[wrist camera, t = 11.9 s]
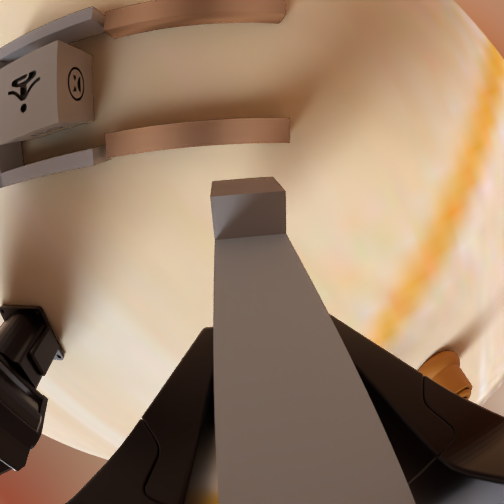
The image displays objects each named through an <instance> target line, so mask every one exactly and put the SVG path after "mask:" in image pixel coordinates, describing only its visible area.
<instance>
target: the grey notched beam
mask: <svg viewBox="0 0 504 504" xmlns="http://www.w3.org/2000/svg"><path fill="white" fill-rule="evenodd" d="M210 199H211V208H212V218H213V227H214V236H215V255H214V315H213V353H214V411H215V440H216V462H217V481H218V497H219V504H416V503H415V501H414V498H413V496H412V493H411V491H410V488H409V486H408V483H407V481H406V478H405V476H404V474H403V471H402V469H401V466H400V464H399V462H398V459H397V457H396V455H395V452H394V450H393V448H392V446H391V443H390V441H389V439H388V436H387V434H386V432H385V430H384V427H383V425H382V423H381V421H380V419H379V416H378V414H377V412H376V410H375V408H374V405H373V403H372V401H371V399H370V397H369V395H368V393H367V390H366V388H365V386H364V384H363V382H362V380H361V378H360V376H359V374H358V372H357V370H356V367H355V365H354V363H353V361H352V359H351V357H350V355H349V353H348V351H347V349H346V347H345V345H344V343H343V341H342V339H341V337H340V335H339V333H338V331H337V329H336V327H335V325H334V323H333V321H332V319H331V317H330V315H329V313H328V311H327V309H326V307H325V306H324V304H323V302H322V300H321V298H320V296H319V294H318V292H317V290H316V288H315V286H314V284H313V283H312V281H311V279H310V277H309V275H308V273H307V271H306V269H305V268H304V266H303V264H302V262H301V260H300V258H299V256H298V255H297V253H296V251H295V249H294V247H293V245H292V244H291V242H290V240H289V238H288V236H287V234H286V192H285V190H284V189H283V188H282V186H281V185H280V184H279V183H278V182H277V181H276V180H275V179H274V178H273V177H260V178H246V179H233V180H222V181H212V188H211V195H210Z"/></svg>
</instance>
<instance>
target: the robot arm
mask: <svg viewBox="0 0 504 504" xmlns="http://www.w3.org/2000/svg"><path fill="white" fill-rule="evenodd" d="M0 313H1V315H2V317H3V319H4V322H3V324H2V325H1V326H0V475H1V474H3V473H5V472H7V471H9V470H11V469H13V470H15V471H19V470H20V469H21V468H23V467H24V466H25V464H26V461H27V457H28V454H29V451H30V450H31V449H32V448H33V447H34V446H35V445H36V443H37V442H38V440H39V438H40V436H41V433H42V429H43V423H44V417H45V411H46V406H47V401H48V398H47V397H45V396H44V395H42V394H41V393H40V392H38V391H37V390H36V388H37V386H38V384H39V382H40V380H41V378H42V376H45V374H46V372H47V370H48V368H49V366H50V364H51V363H52V361H53V359H55V360H63V358H64V354H63V352H62V350H61V348H60V346H59V344H58V342H57V340H56V338H55V336H54V334H53V332H52V329H51V327H50V325H49V323H48V321H47V318H46V316H45V314H44V311H43V310H42V308H41V307H38V306H10V305H2V306H1V307H0ZM329 315H330V314H329ZM330 317H331V319H332V321H333V323H334V325H335V327H336V329H337V331H338V333H339V335H340V337H341V339H342V341H343V343H344V345H345V347H346V349H347V351H348V353H349V355H350V357H351V359H352V361H353V363H354V365H355V367H356V370H357V372H358V374H359V376H360V378H361V380H362V382H363V384H364V386H365V388H366V390H367V393H368V395H369V397H370V399H371V401H372V403H373V405H374V408H375V410H376V412H377V414H378V416H379V419H380V421H381V423H382V425H383V427H384V430H385V432H386V434H387V436H388V439H389V441H390V443H391V446H392V448H393V450H394V452H395V455H396V457H397V459H398V462H399V464H400V466H401V469H402V471H403V474H404V476H405V478H406V481H407V483H408V486H409V488H410V491H411V493H412V496H413V498H414V501H415V503H416V504H504V417H503V416H501V415H498V414H496V413H494V412H492V411H490V410H488V409H486V408H484V407H481V406H479V405H477V404H475V403H473V402H471V401H469V400H467V399H465V398H463V397H461V396H459V395H457V394H455V393H454V392H452V391H450V390H448V389H447V388H445V387H443V386H441V385H440V384H438V383H436V382H435V381H433V380H432V379H430V378H429V377H427V376H423V374H422V373H420V372H419V371H417V370H416V369H414V368H413V367H411V366H409V365H408V364H406V363H405V362H403V361H402V360H400V359H399V358H397V357H395V356H394V355H392V354H391V353H389V352H388V351H386V350H385V349H383V348H381V347H380V346H378V345H377V344H375V343H374V342H372V341H371V340H369V339H367V338H366V337H364V336H363V335H361V334H360V333H358V332H357V331H355V330H354V329H352V328H350V327H349V326H347V325H346V324H344V323H343V322H341V321H340V320H338V319H337V318H335V317H334V316H332V315H330ZM142 419H143V420H142ZM142 419H140V420H139V422H138V423H137V425H136V426H135V427H134V429H133V430H132V432H131V433H130V434H129V436H128V437H127V438H126V440H125V441H124V442H123V444H122V445H121V446H120V447H119V449H118V450H117V451H116V452H115V453H114V454H113V456H112V457H111V458H110V459H109V460H108V461H107V463H106V464H105V465H104V466H103V467H102V468H101V469H100V470H99V471H98V472H97V473H96V474H95V475H94V477H92V479H91V480H90V481H89V482H88V483H87V484H86V485H85V486H84V487H83V488H82V489H81V490H80V491H79V492H78V493H77V494H76V495H75V496H74V497H73V498H72V499H71V500H70V501H68V502H67V503H65V504H219V497H218V481H217V462H216V440H215V411H214V353H213V327H206V328H204V329H203V330H202V331H201V332H200V334H199V335H198V337H197V338H196V340H195V341H194V343H193V344H192V345H191V347H190V348H189V350H188V351H187V353H186V354H185V356H184V357H183V358H182V360H181V361H180V363H179V364H178V366H177V367H176V369H175V370H174V372H173V373H172V374H171V376H170V377H169V379H168V380H167V382H166V383H165V384H164V386H163V387H162V389H161V390H160V392H159V393H158V395H157V396H156V397H155V399H154V400H153V402H152V403H151V405H150V406H149V408H148V409H147V410H146V412H145V413H144V415H143V416H142Z"/></svg>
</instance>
